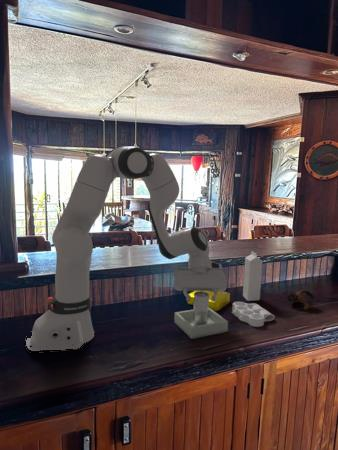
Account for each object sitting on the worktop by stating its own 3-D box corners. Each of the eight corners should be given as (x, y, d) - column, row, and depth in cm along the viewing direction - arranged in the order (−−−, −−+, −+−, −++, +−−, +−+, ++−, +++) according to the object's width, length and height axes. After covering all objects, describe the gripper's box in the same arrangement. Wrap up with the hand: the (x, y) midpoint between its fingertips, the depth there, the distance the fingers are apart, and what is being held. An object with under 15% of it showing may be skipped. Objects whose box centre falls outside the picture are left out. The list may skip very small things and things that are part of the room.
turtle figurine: (303, 302, 155) (313, 290, 150) (310, 318, 147) (320, 306, 142) (280, 295, 153) (289, 283, 149) (285, 312, 146) (294, 299, 141)
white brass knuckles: (279, 324, 130) (246, 329, 126) (254, 307, 147) (224, 310, 142) (280, 316, 130) (247, 321, 125) (254, 299, 146) (224, 303, 142)
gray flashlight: (197, 329, 122) (198, 295, 120) (190, 322, 127) (191, 290, 125) (210, 326, 124) (211, 294, 122) (202, 320, 129) (204, 289, 127)
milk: (254, 295, 160) (257, 250, 156) (259, 300, 154) (263, 253, 151) (242, 296, 159) (245, 250, 155) (247, 300, 153) (250, 254, 150)
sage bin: (191, 338, 116) (191, 328, 116) (174, 322, 129) (174, 312, 128) (227, 331, 122) (228, 321, 122) (207, 316, 135) (208, 307, 134)
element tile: (185, 304, 148) (186, 293, 148) (202, 294, 161) (202, 285, 160) (216, 312, 140) (216, 301, 139) (231, 302, 152) (231, 291, 152)
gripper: (173, 263, 130) (173, 296, 122) (225, 264, 131) (229, 297, 123) (173, 271, 135) (172, 303, 127) (223, 272, 136) (226, 304, 128)
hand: (201, 300), depth 125 cm, fingers open, 8 cm apart
